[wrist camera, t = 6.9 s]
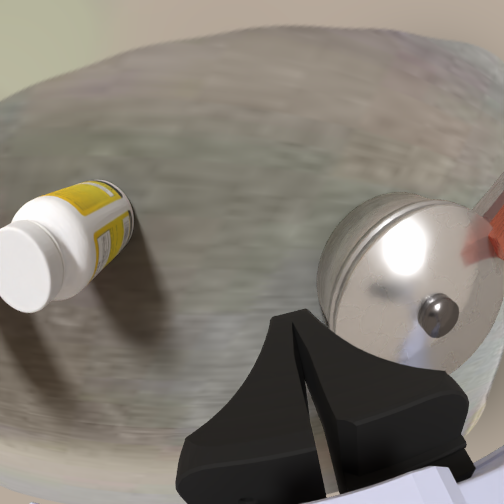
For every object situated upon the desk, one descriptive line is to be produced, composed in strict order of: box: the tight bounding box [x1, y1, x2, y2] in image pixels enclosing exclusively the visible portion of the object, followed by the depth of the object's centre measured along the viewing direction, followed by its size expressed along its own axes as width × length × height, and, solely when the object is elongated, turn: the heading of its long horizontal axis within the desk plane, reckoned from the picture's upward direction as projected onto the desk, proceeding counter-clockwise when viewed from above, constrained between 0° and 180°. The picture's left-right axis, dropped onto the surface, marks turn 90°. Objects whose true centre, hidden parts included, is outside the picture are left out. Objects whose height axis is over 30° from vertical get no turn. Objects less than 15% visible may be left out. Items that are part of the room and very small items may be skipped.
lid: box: [333, 203, 504, 375], centre depth 16 cm, size 18×12×2 cm
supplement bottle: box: [0, 180, 134, 313], centre depth 16 cm, size 5×5×10 cm
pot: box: [317, 172, 504, 331], centre depth 20 cm, size 20×13×5 cm, turn 134°
